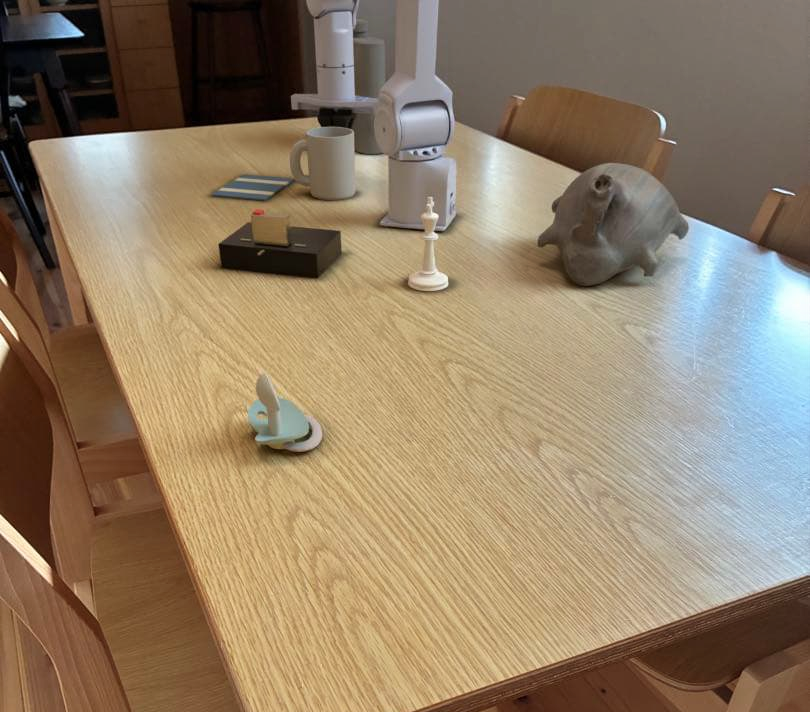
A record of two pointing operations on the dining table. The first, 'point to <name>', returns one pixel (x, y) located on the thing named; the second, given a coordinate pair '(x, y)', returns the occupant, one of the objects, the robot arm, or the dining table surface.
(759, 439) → the dining table surface
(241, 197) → the dish towel
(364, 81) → the flask
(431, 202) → the chess piece
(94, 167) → the dining table surface
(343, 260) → the dining table surface
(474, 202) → the dining table surface
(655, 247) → the clay animal vessel
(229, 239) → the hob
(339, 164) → the cup
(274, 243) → the tan flat block piece
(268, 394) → the pacifier
